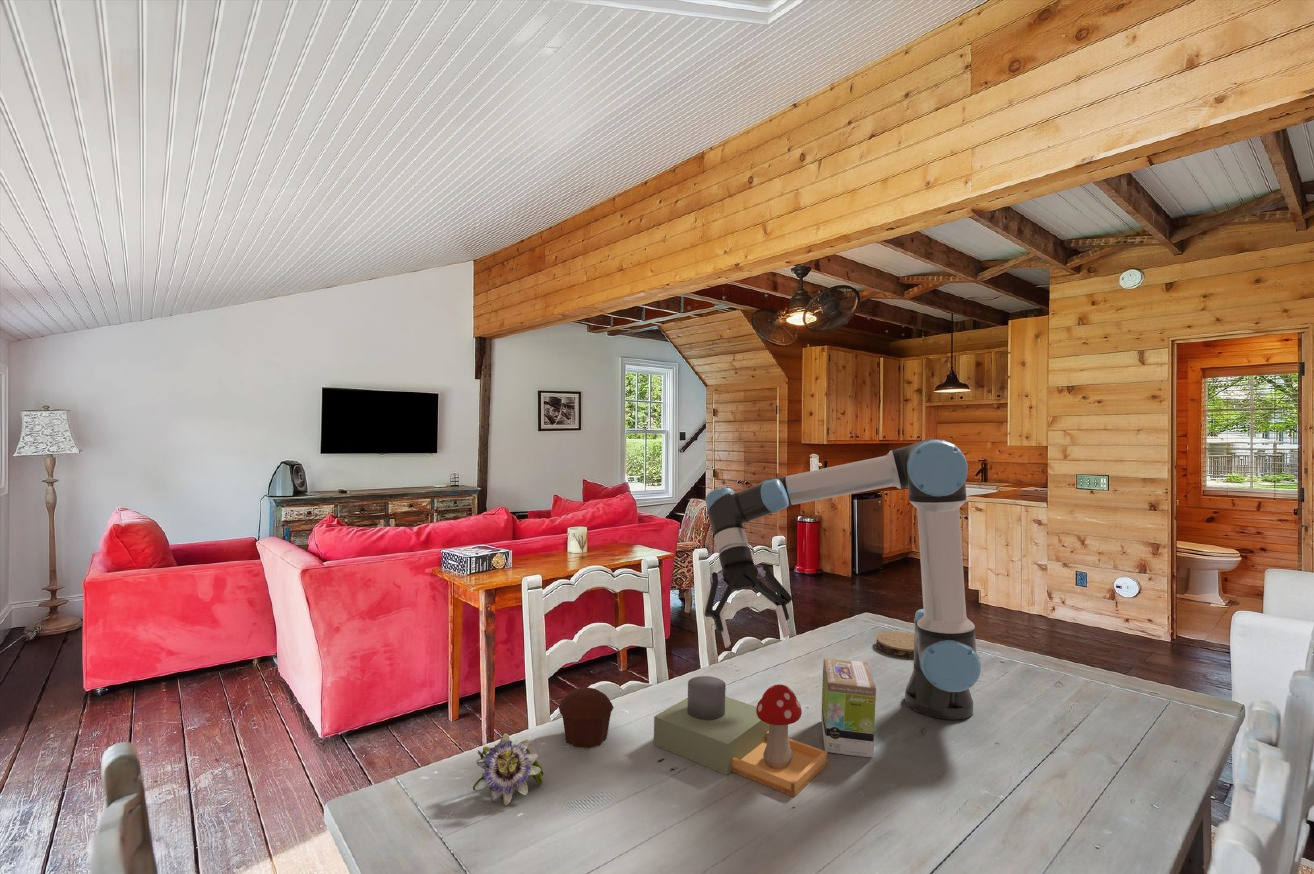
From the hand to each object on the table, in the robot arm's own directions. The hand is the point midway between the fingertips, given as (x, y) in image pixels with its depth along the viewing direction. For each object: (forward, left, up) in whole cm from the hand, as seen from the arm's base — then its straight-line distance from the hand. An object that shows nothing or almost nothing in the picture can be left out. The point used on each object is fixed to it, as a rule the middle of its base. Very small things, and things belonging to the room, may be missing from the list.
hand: (757, 640), depth 141 cm
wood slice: (-9, -74, -20) cm, 78 cm away
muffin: (+26, +27, -20) cm, 42 cm away
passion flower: (+23, +50, -20) cm, 58 cm away
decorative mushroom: (-11, +10, -19) cm, 24 cm away
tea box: (-17, -9, -20) cm, 28 cm away
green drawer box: (-2, +11, -20) cm, 23 cm away
